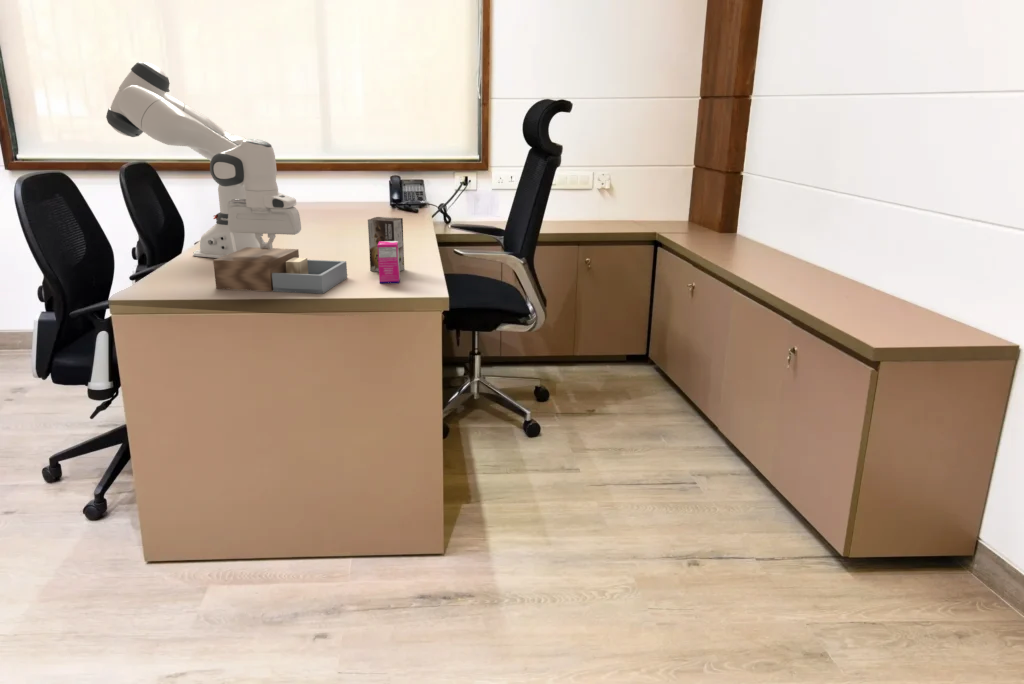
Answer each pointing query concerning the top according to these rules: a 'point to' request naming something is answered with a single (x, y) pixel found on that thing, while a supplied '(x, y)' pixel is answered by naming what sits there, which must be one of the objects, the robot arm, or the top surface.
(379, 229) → the coffee box
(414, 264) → the top surface
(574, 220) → the top surface
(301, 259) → the birch block
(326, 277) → the box
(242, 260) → the zigzag grain wood block
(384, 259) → the supplement box
